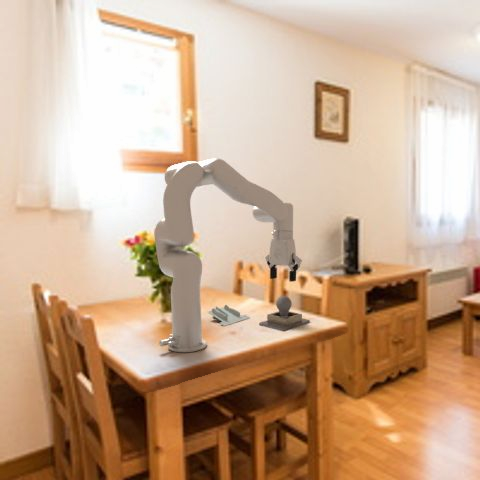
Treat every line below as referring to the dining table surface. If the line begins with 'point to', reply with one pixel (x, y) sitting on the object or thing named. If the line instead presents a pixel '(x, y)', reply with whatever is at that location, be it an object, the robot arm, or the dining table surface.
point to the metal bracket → (227, 315)
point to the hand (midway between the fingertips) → (282, 279)
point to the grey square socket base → (284, 321)
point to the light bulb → (283, 305)
